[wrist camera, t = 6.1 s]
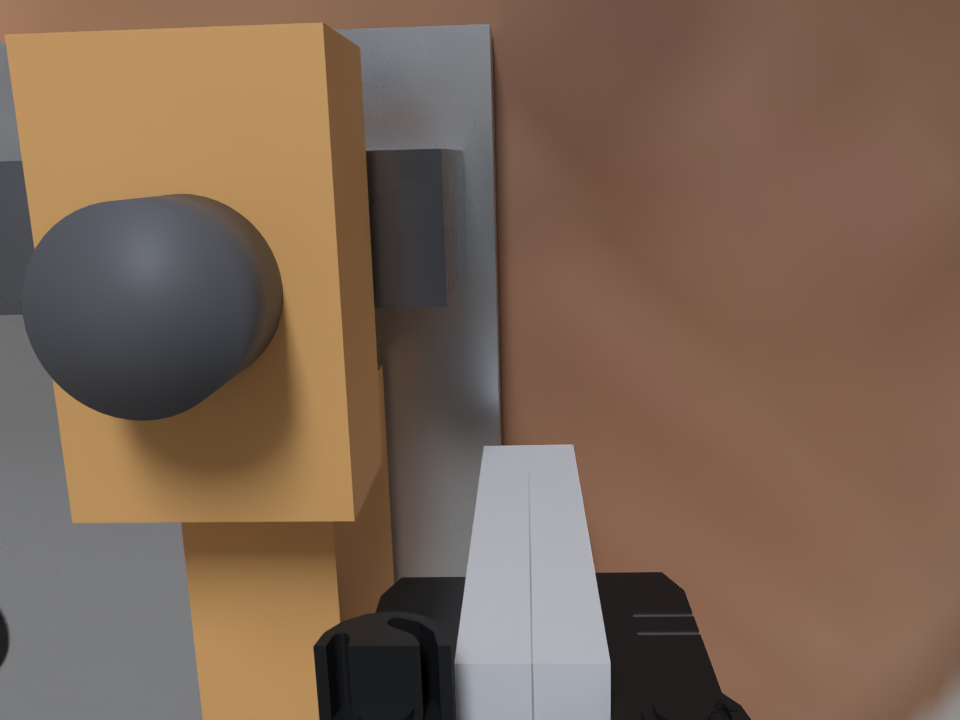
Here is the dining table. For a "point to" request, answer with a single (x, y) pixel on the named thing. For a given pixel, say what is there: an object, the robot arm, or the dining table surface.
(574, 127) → the dining table surface
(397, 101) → the plate
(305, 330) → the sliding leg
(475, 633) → the robot arm
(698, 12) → the dining table surface
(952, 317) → the dining table surface
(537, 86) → the dining table surface
